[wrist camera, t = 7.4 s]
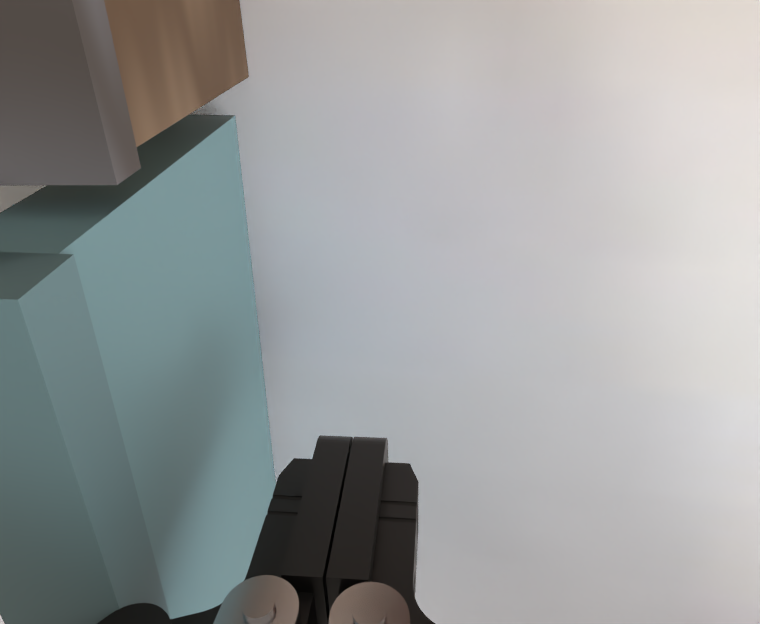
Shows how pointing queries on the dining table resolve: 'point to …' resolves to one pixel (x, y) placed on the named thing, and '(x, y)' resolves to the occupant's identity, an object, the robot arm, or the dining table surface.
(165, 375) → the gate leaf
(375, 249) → the dining table surface
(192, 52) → the gate posts
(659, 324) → the dining table surface
